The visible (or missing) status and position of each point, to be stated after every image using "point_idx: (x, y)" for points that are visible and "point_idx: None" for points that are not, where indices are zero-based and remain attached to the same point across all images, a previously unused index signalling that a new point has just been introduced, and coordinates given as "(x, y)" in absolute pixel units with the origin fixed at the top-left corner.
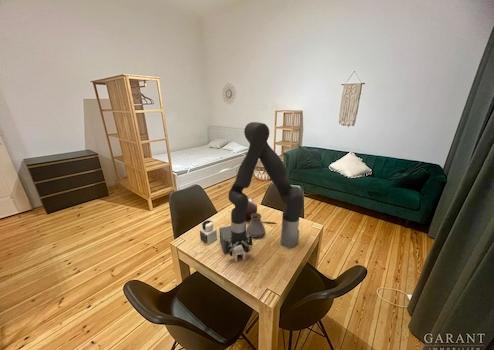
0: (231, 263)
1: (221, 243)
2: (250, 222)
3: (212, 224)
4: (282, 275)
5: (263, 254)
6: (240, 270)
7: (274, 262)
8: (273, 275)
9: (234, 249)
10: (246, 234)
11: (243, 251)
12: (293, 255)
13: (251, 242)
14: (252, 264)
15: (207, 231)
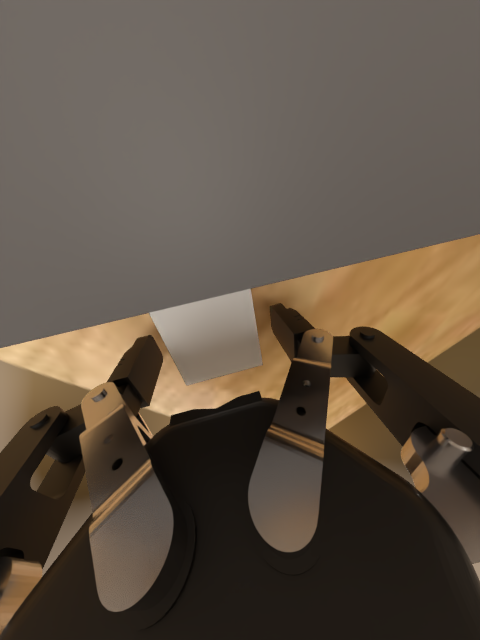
0: (166, 352)
1: None
2: None
3: None
4: (359, 394)
5: (358, 297)
6: (216, 386)
7: None
8: (333, 396)
9: (171, 339)
10: (452, 220)
11: (253, 360)
12: (470, 313)
13: (381, 398)
14: (278, 357)
15: None
